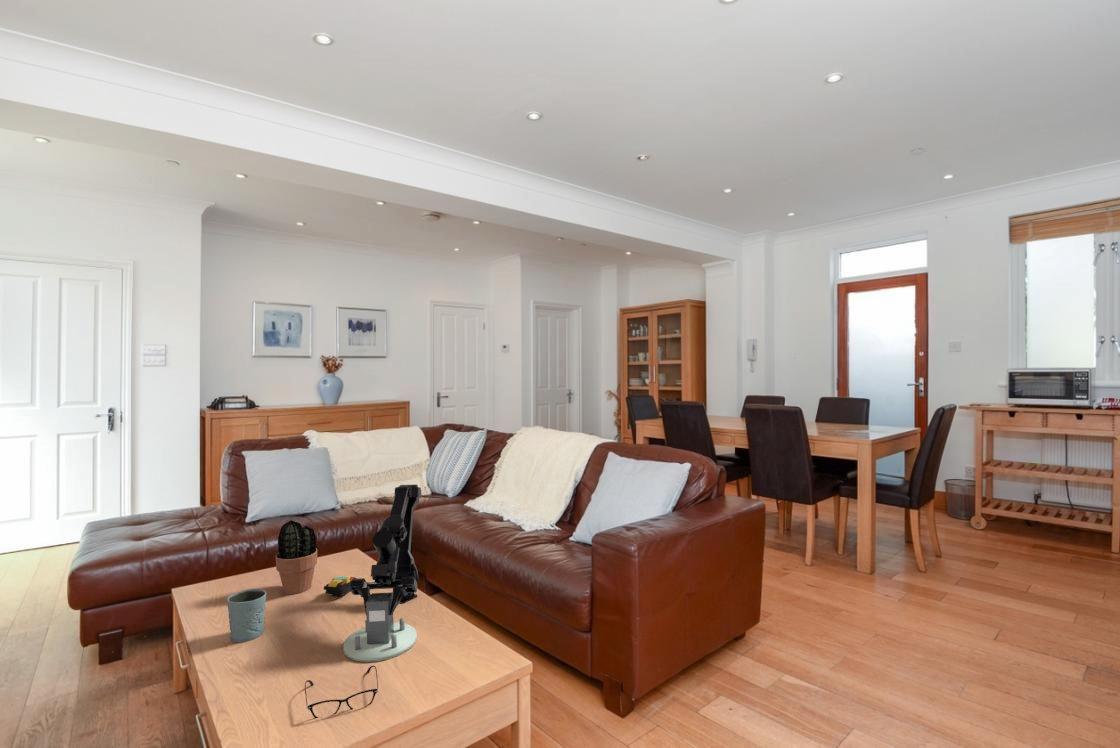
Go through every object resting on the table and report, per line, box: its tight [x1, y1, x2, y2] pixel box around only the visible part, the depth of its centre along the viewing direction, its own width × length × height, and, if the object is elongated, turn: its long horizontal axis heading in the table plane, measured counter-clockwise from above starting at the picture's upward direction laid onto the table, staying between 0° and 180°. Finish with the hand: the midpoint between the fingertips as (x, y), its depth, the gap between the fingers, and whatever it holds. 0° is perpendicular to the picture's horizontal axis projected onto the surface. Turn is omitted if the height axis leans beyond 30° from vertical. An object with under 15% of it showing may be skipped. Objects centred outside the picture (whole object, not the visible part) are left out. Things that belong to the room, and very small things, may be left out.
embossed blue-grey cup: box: [226, 588, 267, 643], centre depth 164 cm, size 10×10×12 cm
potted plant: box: [275, 519, 318, 595], centre depth 197 cm, size 14×14×25 cm
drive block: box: [365, 591, 395, 644], centre depth 158 cm, size 6×6×12 cm
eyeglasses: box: [304, 665, 379, 719], centre depth 134 cm, size 16×16×4 cm
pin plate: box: [343, 617, 418, 663], centre depth 159 cm, size 20×20×4 cm
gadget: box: [323, 574, 358, 598], centre depth 194 cm, size 6×13×6 cm, turn 170°
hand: (378, 615), depth 157 cm, fingers open, 6 cm apart
